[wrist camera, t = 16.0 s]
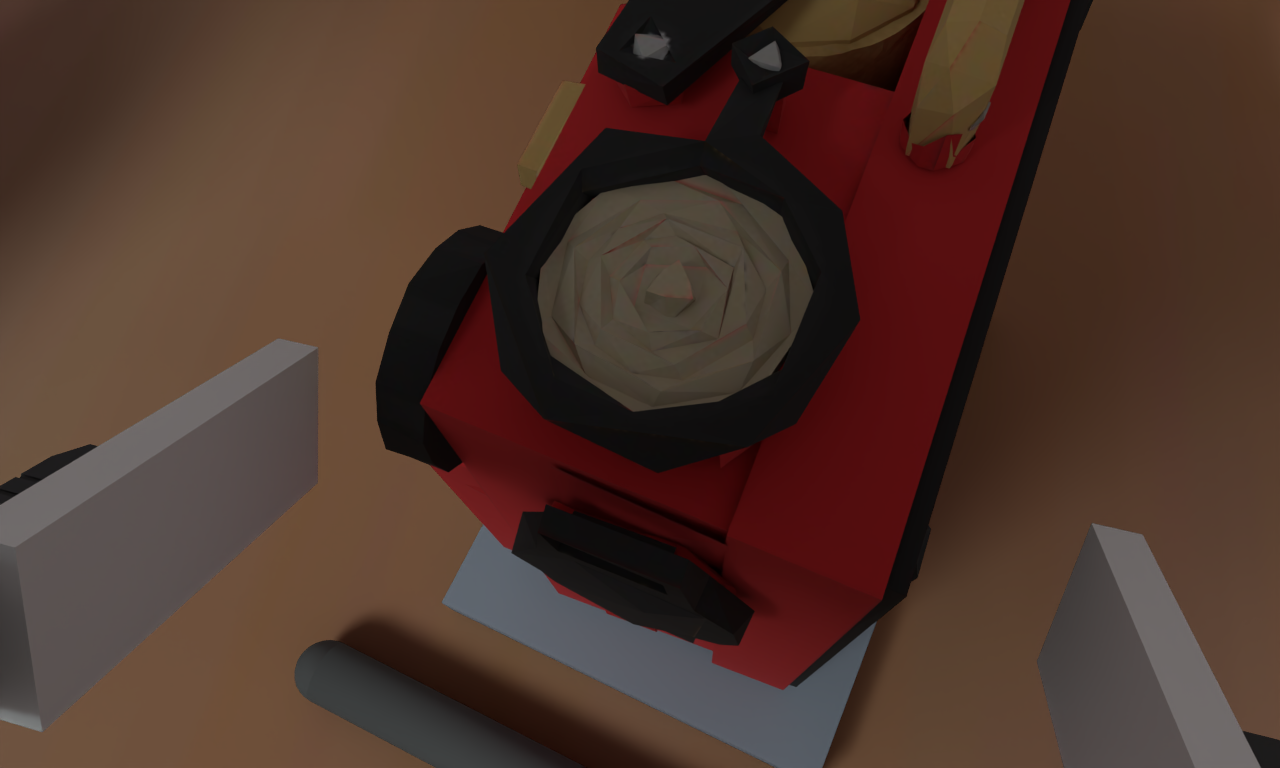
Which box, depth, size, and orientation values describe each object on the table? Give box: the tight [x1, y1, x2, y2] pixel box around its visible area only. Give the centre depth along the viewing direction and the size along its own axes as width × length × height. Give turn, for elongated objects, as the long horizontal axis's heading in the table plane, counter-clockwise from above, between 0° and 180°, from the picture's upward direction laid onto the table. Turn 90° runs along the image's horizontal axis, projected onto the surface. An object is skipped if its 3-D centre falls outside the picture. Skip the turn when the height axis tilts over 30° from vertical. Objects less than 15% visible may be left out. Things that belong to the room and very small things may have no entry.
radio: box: [376, 0, 1093, 690], centre depth 24 cm, size 16×10×20 cm, turn 158°
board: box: [442, 524, 877, 768], centre depth 34 cm, size 13×18×2 cm
